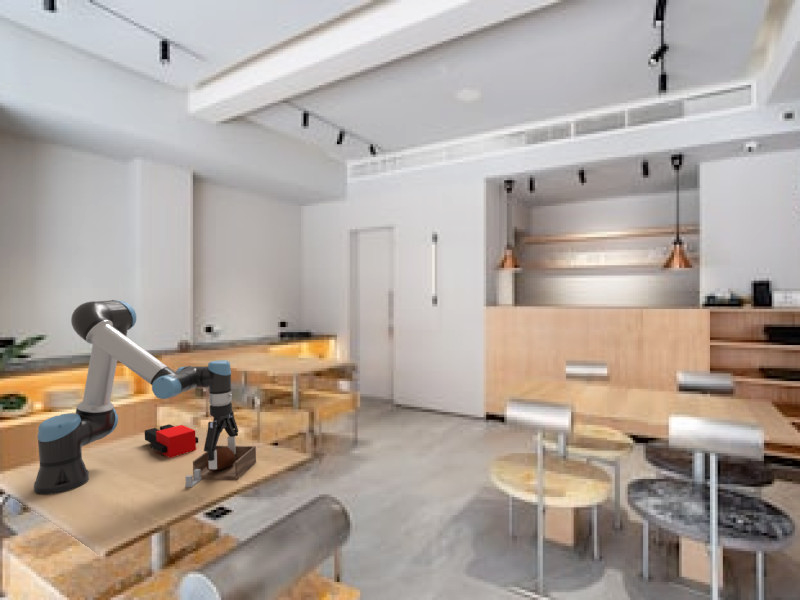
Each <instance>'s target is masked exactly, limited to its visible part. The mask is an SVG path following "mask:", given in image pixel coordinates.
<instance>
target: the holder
mask: <svg viewBox="0 0 800 600" xmlns="http://www.w3.org/2000/svg"><path fill="white" fill-rule="evenodd" d="M221 447H222V448H225V447H226V448H228V445H218V444H217V445H216V448H215V449H217V448H221ZM235 447H236V454H234V455H235V462H234V463H233V464H232V465H231V466H229V467H227V468H224V469H221V470H217V471H209V470H208V469H207V467H206V460H207V458H208V452H207V451H204V453H202V454H201V455H200V456H198V457H197V458H195V459H194V460H192V475H193V479H194V470H195V469H201V478H202V479H203V480H230V481H231V480H235V481H236V480H239V479H240V478H241V477H242V476H243V475H244V474H245V473H247V471H248V470H249V469H251V467H253V466H254V465H255V464H256V463H257V452H256V451H257V448H256V446H255V445H252V446H251V445H235Z"/></svg>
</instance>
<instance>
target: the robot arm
mask: <svg viewBox="0 0 800 600" xmlns="http://www.w3.org/2000/svg"><path fill="white" fill-rule="evenodd" d="M70 322H71V326H72V328H73V330H74V332H75V333H76V334H77V335H78V336H79V337H80V338H81V339H82V340H84V341H85V342H87V343H89V344H92V346H91V352H90V357H89V358H90V359H89V363H88V368H87V369H88V370H87V374H86V381H85V387H84V392H83V396H82V401H81V402H79V403H78V404H77V405H76V409H75V413H74V412H69V413H68V412H67V413H63V414H60V415H54V416H52V417H48V418H47V419H45V420H44V421H43V422H41V423H40V424H39V425H38V429H37V430H38V431H37V432H38V433H37V437H36V438H37V444H38V457H39V459H38V460H39V467H38V468H39V469H38V472H37V475H36V480H35V481H34V484H33V492H34V493H35V494H36V495H54V494H60V493H64V492H67V491H70V490H74V489H76V488H78V487H79V488H80V486H82V485H84V484H86V483H87V482H88V481H89V479H90V474H89V473H90V472H89V471H88V469H87V468H86V467H87V466H86V465H85V461H84V459H83V454H82V451H83V450H82V448H83V447H85V446H87V445H89V444H91V443H94V442H96V441H98V440H101V439H104V438H105V437H107V436H108V435H110V434H112V433H113V432H114V431H115V429H116V428H117V426H118V423H119V415H118V413H117V410H116V409H115V406H114V404H113V403H112V402H111V399H112V398H111V397H112V392H113V387H114V382H115V375H116V370H117V365H118V362H120V363H121V364H122V365H124V366H125V367H126V368H128V369H129V370H130V371H132V372H133V373H135V374H136V375H137V376H138V377H140V378H142V379H143V380H144V381H146V382H147V383H148V384H149V385H151V391H152V392H153V395H154V396H155V397H156V398H157V399H160V400H161V399H162V400H167V399H170V398H174V397H176V396H178V395H180V394H182V393H185V392H188V391H189V390H192V389H197V388H208V392H209V393H208V394H209V396H208V398H209V404H210V405H209V414H210V415H209V416H211V417H213V419H212V421H208V423H207V432H206V437H205V442H204V447H203V452H208V462H209V469H217V450H215V448H216V445H218V442H219V437H220V435H221V433H222V432H223V430H224V431H225V432H226V434H227V435H228V436H227V446H228V448H230V449H231V450H232V451H233V453H234V454H236V447H235V446H236V437H238V436H239V428H238V425H237V422H236V419H235V416H234V413H235V412H234V411H233V404H232V400H233V399H232V398H233V394H232V371H231V363H230V361H229V360H227V359H226V360H225V359H224V360H223V359H220V360H213V361H210V362H208V365H207V366H191V365H187V366H180V367H178V369H177V370H176V371H174V370H173V369H172V368H170V367H169V366H168V365H166V364H165V363H164V362H161V360H159V359H158V358H156V357H155V356H154V355H152V354H151V353H150V352H148V351H147V350H146V349H144V348H143V347H141V346H140V345H139V344H137V343H136V342H135V341H134V340H132V339H131V338H129V337H128V336H127V335H128V330H129V331H130V330H131V329H132V328H133V327H134V326H135V325H136V322H137V313H136V311H135V309H134V308H133V306H132V305H131V304H130V303H128V302H126V301H125V300H118V299H117V300H116V299H111V300H99V301H86V302H84V303H82V304H80V305H78V306H77V307H76V308H75V309H74V310H73V312H72V314H71V319H70Z"/></svg>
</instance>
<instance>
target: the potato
mask: <svg viewBox="0 0 800 600" xmlns="http://www.w3.org/2000/svg"><path fill="white" fill-rule="evenodd" d="M215 450H217V469H209V462H208V458H207V460H206V467H207V469H208V470H209V471H217V470H221V469H224V468H227V467H229V466H231V465H232V464H233V463H234V462H235V455H234V453H233V451H232V450H231V449H230V448H226V447H225V448H222V447H221V448H217V449H215Z"/></svg>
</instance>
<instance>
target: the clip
mask: <svg viewBox="0 0 800 600" xmlns="http://www.w3.org/2000/svg"><path fill="white" fill-rule="evenodd" d="M200 481H202V478H201V469H195V470H194V478H193V474H192V475H190V474H189V475H185V486H184V487H185V488H193V487H195V485H197V484H198V483H200Z"/></svg>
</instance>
